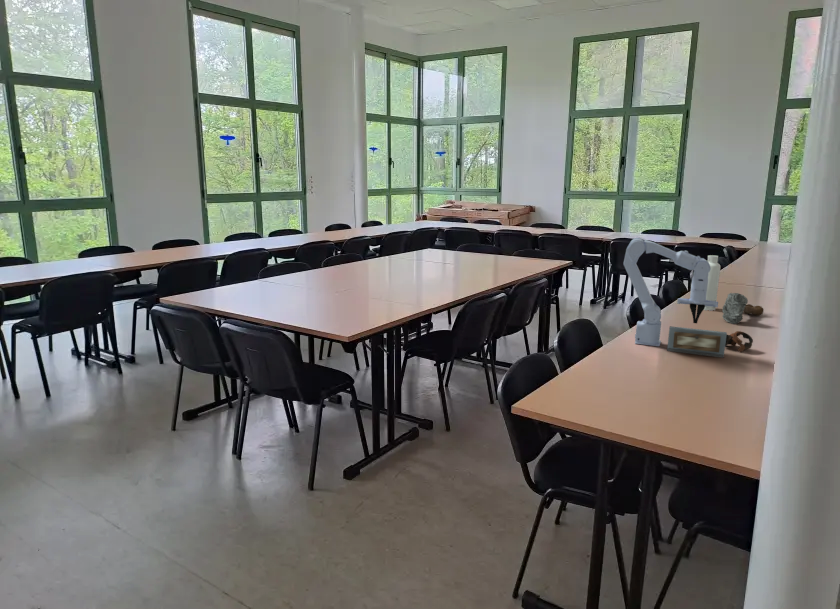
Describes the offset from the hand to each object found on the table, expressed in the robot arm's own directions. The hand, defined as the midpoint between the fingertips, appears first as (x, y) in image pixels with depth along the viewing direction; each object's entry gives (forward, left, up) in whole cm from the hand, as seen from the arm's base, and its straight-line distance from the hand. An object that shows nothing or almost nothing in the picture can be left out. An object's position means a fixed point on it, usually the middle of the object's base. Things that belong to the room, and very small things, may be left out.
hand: (695, 322), depth 228 cm
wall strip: (+1, -8, -10) cm, 13 cm away
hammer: (+21, +63, -11) cm, 68 cm away
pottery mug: (+15, +6, -11) cm, 20 cm away
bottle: (+6, +80, -11) cm, 81 cm away
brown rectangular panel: (+1, -10, -8) cm, 13 cm away
